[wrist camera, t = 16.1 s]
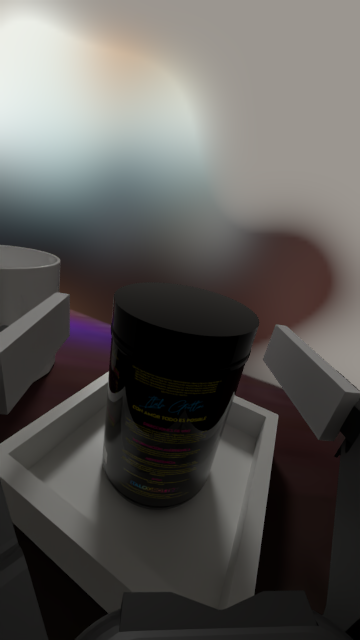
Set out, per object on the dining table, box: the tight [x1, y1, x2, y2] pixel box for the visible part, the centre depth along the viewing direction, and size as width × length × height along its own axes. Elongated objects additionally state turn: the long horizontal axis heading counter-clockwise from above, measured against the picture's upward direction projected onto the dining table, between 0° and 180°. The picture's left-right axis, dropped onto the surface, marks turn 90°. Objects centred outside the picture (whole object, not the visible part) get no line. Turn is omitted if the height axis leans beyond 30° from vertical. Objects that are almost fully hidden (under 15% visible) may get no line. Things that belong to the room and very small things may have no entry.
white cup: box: [0, 245, 60, 382], centre depth 20 cm, size 8×8×10 cm
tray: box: [0, 372, 278, 613], centre depth 15 cm, size 13×13×3 cm
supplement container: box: [102, 283, 259, 510], centre depth 13 cm, size 7×7×10 cm
